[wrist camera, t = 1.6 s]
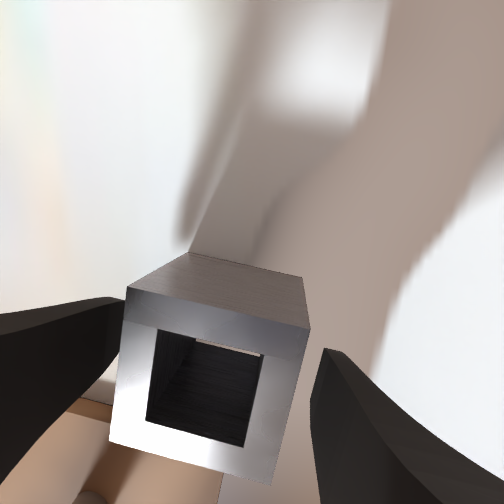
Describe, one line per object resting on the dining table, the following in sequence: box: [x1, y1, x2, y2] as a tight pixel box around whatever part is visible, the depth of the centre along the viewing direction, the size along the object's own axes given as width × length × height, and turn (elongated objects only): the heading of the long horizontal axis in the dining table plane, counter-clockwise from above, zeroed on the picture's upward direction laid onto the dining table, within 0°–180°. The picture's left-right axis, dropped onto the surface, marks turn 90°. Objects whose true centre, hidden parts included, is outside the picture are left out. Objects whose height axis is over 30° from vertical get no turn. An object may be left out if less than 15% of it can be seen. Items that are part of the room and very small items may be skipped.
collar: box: [109, 252, 310, 485], centre depth 11 cm, size 5×5×5 cm
